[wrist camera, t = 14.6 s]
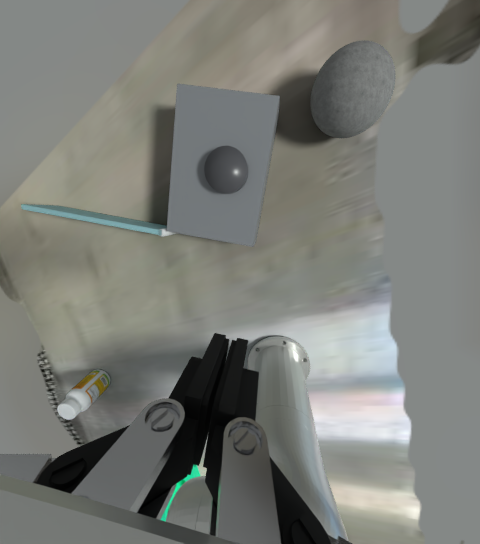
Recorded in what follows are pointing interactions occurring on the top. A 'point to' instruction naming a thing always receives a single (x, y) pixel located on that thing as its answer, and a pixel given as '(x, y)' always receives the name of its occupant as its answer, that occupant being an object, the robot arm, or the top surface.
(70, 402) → the supplement bottle
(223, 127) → the grey box with knob
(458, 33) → the top surface
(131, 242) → the top surface
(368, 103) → the decorative ball
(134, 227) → the door
